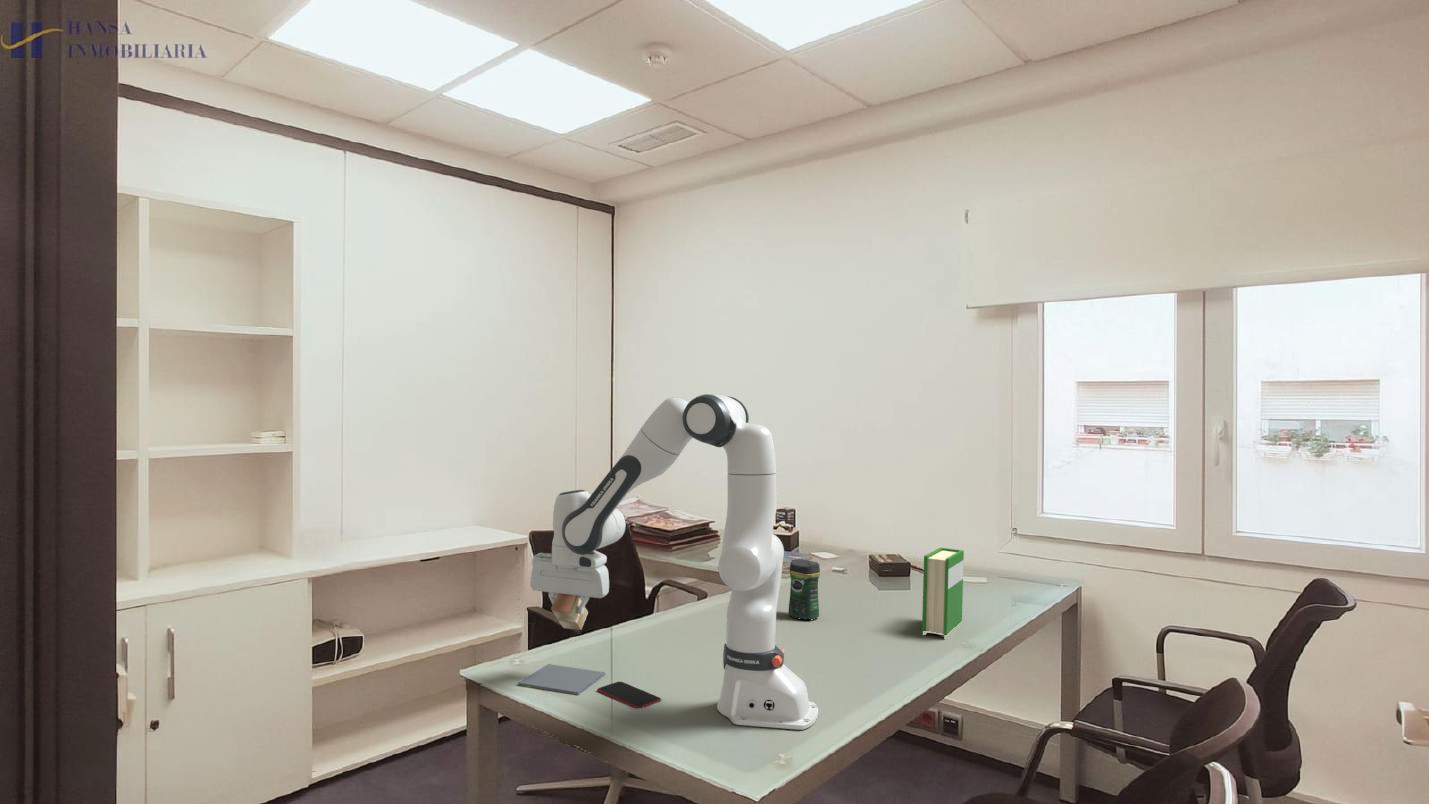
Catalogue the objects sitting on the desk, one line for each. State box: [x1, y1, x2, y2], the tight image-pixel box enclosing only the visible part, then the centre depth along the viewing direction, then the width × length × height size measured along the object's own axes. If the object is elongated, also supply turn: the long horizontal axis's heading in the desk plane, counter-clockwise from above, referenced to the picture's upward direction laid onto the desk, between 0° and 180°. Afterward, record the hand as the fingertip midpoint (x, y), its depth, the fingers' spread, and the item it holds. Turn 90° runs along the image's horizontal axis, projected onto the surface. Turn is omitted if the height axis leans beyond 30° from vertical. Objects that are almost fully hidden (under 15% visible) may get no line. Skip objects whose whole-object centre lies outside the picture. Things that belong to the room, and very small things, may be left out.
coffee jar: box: [787, 558, 821, 620], centre depth 244 cm, size 10×8×19 cm
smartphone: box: [597, 681, 662, 709], centre depth 175 cm, size 7×1×15 cm
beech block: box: [550, 593, 589, 631], centre depth 186 cm, size 5×5×9 cm
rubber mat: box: [517, 663, 606, 696], centre depth 184 cm, size 16×14×1 cm
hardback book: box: [921, 547, 965, 635], centre depth 234 cm, size 18×7×24 cm, turn 148°
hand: (568, 611), depth 185 cm, fingers closed on beech block, 5 cm apart
